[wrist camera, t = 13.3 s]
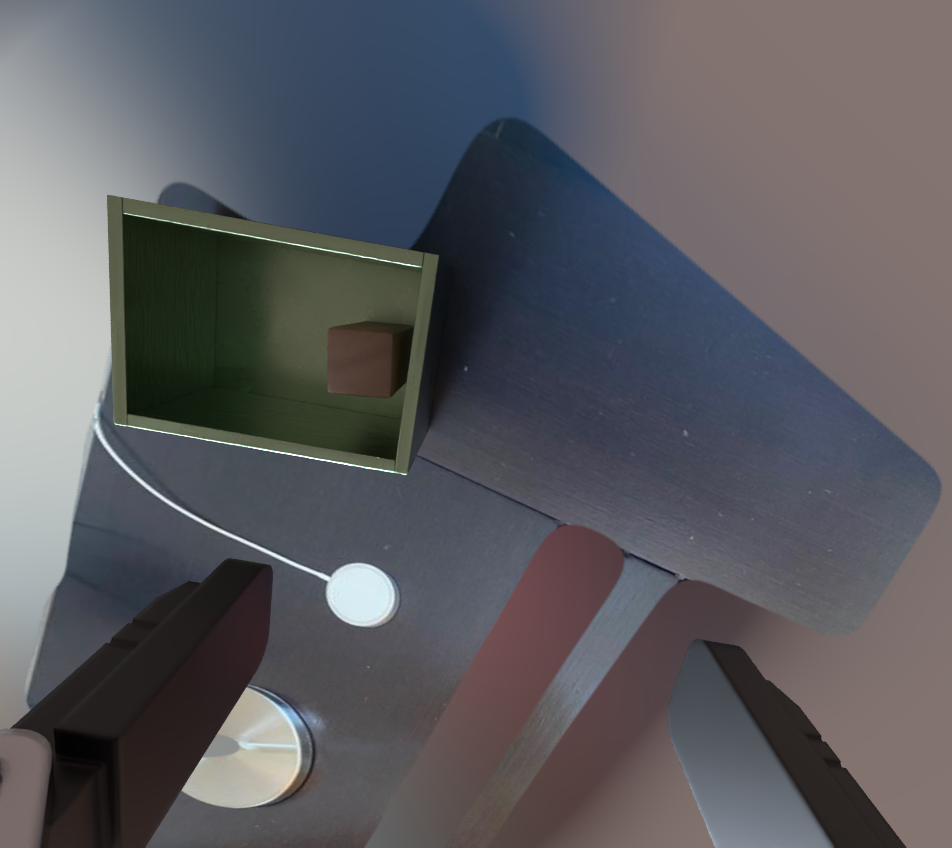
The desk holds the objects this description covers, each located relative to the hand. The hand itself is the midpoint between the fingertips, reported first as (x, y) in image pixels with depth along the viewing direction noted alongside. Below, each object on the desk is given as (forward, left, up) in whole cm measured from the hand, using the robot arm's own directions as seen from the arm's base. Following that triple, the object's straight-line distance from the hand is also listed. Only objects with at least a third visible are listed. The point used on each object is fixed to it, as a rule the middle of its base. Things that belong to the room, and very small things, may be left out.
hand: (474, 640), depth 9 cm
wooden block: (+5, -6, -28) cm, 29 cm away
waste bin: (+8, -10, -28) cm, 31 cm away
